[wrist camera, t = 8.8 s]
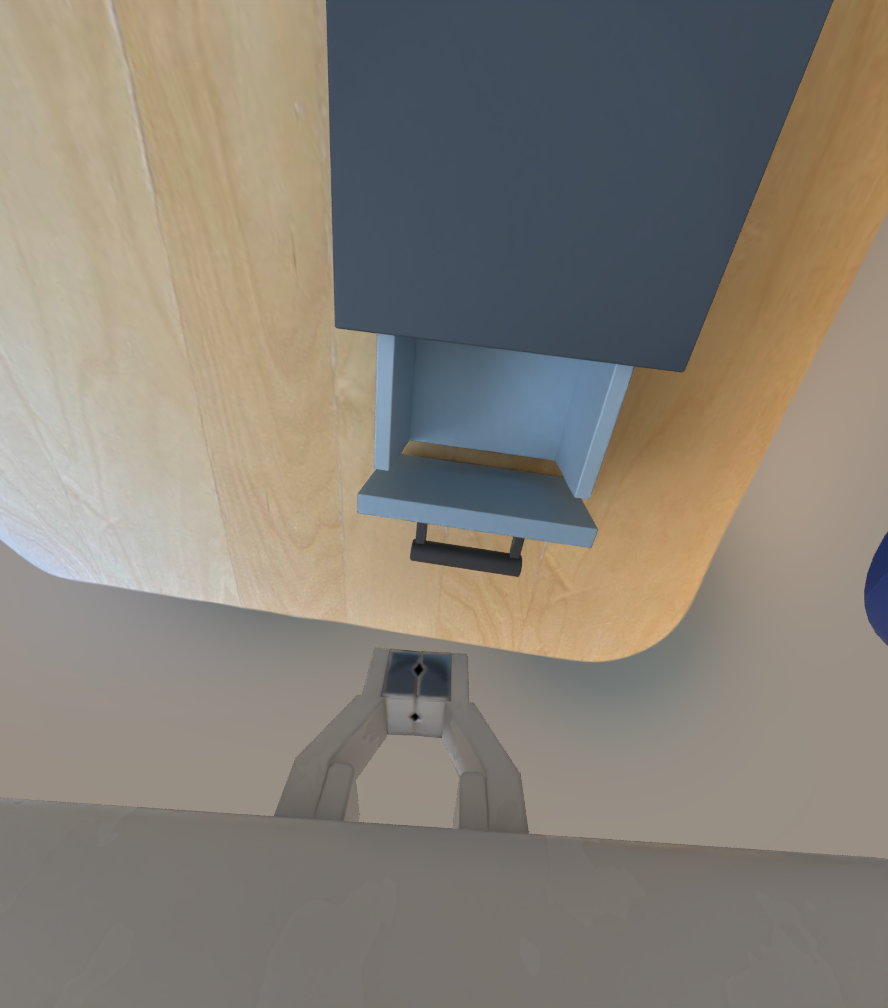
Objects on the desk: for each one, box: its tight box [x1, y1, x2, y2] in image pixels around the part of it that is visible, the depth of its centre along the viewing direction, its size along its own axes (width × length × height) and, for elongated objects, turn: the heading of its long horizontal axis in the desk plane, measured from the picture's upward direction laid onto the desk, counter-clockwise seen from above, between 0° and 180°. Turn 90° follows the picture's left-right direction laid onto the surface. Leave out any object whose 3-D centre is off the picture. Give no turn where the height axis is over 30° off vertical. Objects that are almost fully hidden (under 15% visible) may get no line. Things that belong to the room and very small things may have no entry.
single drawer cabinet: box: [326, 0, 834, 372], centre depth 14 cm, size 16×14×9 cm
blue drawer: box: [357, 333, 635, 577], centre depth 19 cm, size 19×13×7 cm, turn 174°
